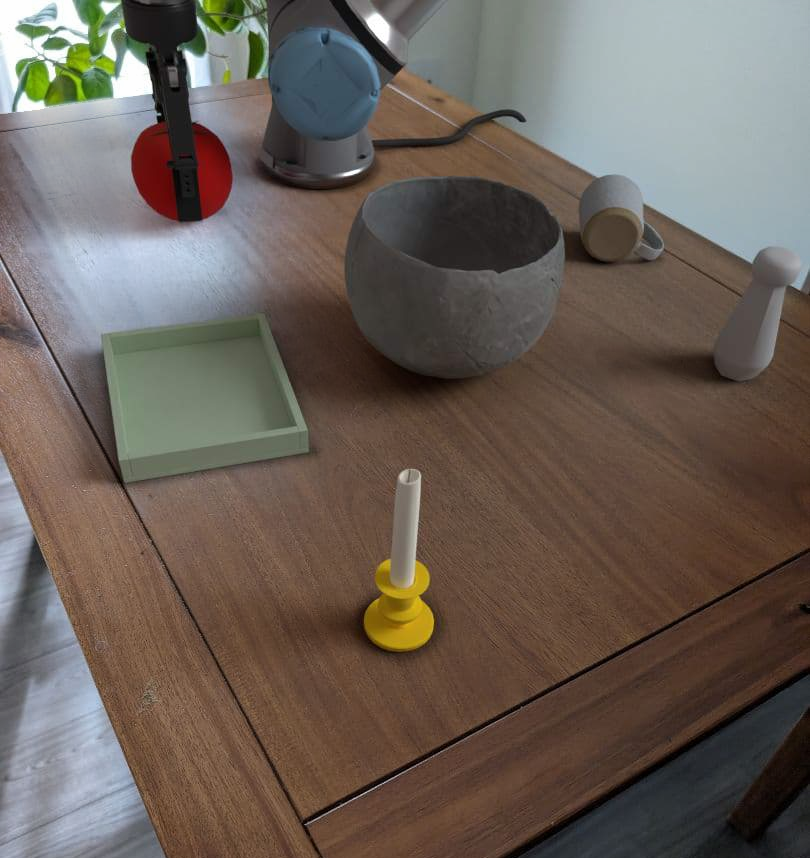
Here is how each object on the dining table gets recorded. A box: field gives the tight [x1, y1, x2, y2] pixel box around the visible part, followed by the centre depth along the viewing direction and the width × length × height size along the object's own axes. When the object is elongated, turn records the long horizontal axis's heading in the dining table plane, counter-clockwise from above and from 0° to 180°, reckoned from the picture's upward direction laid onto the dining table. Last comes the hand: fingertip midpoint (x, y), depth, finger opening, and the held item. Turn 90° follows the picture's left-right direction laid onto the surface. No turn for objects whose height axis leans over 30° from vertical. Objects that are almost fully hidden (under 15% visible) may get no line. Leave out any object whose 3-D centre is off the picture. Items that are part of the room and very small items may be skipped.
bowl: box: [344, 175, 566, 380], centre depth 83 cm, size 20×20×15 cm
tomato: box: [130, 120, 234, 223], centre depth 102 cm, size 12×12×10 cm
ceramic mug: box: [578, 174, 665, 263], centre depth 102 cm, size 11×8×8 cm
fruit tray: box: [100, 313, 310, 484], centre depth 80 cm, size 16×19×3 cm
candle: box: [363, 468, 435, 653], centre depth 58 cm, size 5×5×16 cm
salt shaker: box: [713, 246, 803, 382], centre depth 84 cm, size 6×6×13 cm
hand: (182, 194), depth 104 cm, fingers open, 13 cm apart
